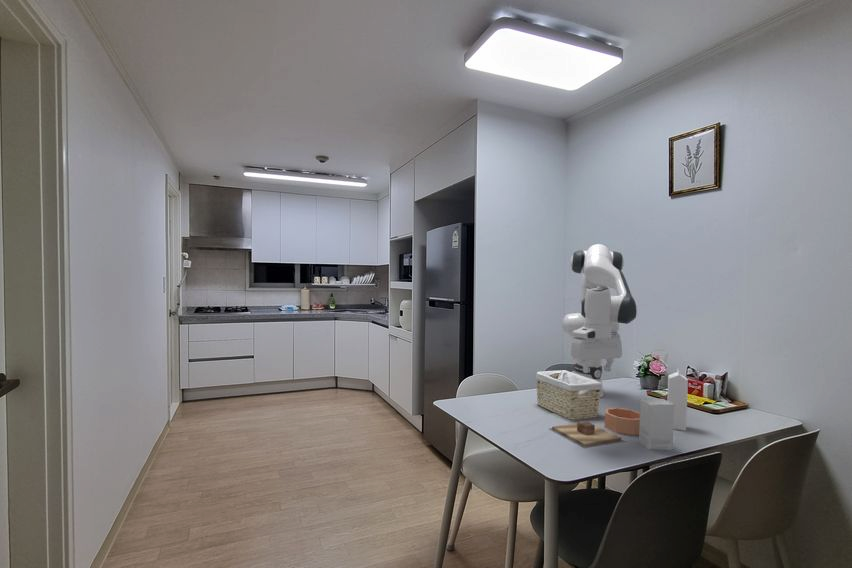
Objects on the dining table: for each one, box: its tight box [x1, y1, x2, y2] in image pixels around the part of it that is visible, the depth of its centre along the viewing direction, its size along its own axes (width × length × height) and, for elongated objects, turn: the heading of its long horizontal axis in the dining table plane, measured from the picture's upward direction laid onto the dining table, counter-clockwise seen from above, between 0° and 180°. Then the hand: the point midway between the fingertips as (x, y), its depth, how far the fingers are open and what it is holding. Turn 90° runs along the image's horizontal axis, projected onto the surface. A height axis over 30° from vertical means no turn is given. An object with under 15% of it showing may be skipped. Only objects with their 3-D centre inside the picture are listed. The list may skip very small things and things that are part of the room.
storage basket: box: [535, 369, 603, 420], centre depth 174 cm, size 24×16×15 cm
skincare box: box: [638, 398, 674, 450], centre depth 138 cm, size 8×7×16 cm
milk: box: [666, 368, 689, 432], centre depth 159 cm, size 6×6×22 cm
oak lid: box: [551, 420, 622, 447], centre depth 146 cm, size 16×16×4 cm
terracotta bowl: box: [604, 407, 640, 436], centre depth 154 cm, size 13×13×6 cm
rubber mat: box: [548, 427, 626, 449], centre depth 146 cm, size 18×18×1 cm
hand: (597, 371), depth 146 cm, fingers open, 8 cm apart
